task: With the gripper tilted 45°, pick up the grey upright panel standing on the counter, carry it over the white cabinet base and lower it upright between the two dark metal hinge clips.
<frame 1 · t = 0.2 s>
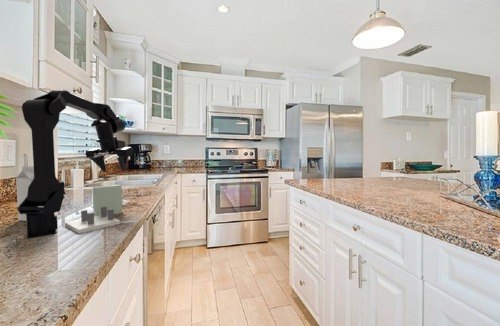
hand: (114, 171, 105), 15 cm above the counter, tool pointing down, fingers open, 9 cm apart
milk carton: (36, 219, 88), on the counter
cabinet base: (93, 224, 81), on the counter
grey upright panel: (108, 214, 94), on the counter
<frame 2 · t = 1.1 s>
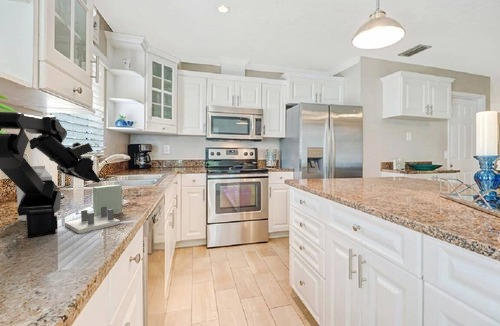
hand: (94, 181, 90), 13 cm above the counter, tool tilted 45°, fingers open, 9 cm apart
nothing on the counter moved.
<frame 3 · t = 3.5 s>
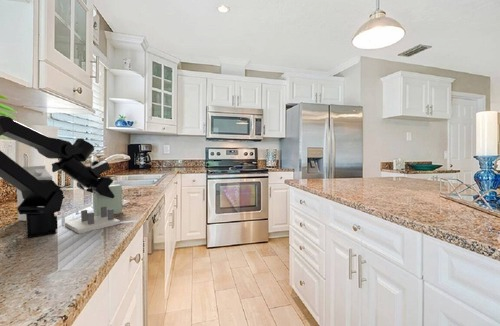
hand: (111, 196, 95), 7 cm above the counter, tool tilted 45°, fingers closed on grey upright panel, 3 cm apart
grey upright panel: (108, 214, 94), on the counter, touching gripper
everything else where it was.
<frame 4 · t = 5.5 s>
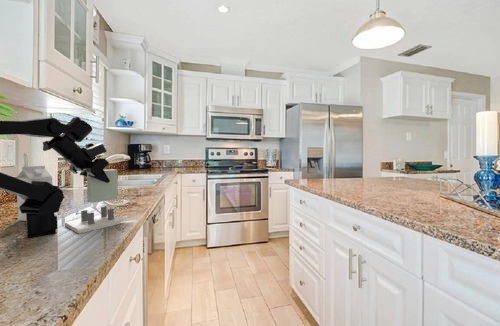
hand: (106, 181, 90), 13 cm above the counter, tool tilted 45°, fingers closed on grey upright panel, 3 cm apart
grey upright panel: (102, 200, 89), point 6 cm above the counter, touching gripper
everything else where it was.
when the fingers open (9 cm above the counter, at t = 7.3 s): grey upright panel stays where it is, resting on cabinet base.
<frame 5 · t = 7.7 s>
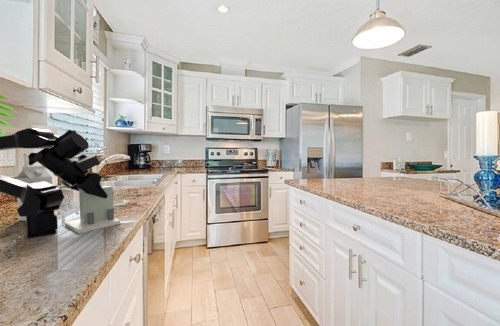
hand: (101, 195, 83), 9 cm above the counter, tool tilted 45°, fingers open, 8 cm apart
grey upright panel: (97, 220, 82), point 1 cm above the counter, touching cabinet base
everything else where it was.
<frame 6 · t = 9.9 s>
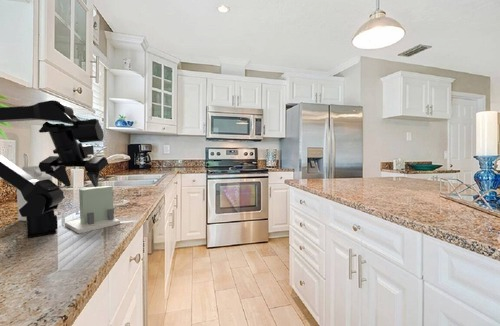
hand: (82, 186, 82), 13 cm above the counter, tool tilted 25°, fingers open, 9 cm apart
nothing on the counter moved.
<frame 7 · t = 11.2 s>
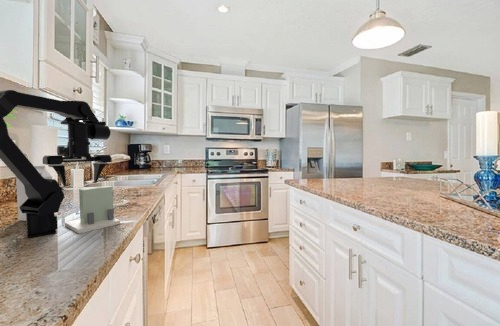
hand: (80, 184, 84), 13 cm above the counter, tool pointing down, fingers open, 9 cm apart
nothing on the counter moved.
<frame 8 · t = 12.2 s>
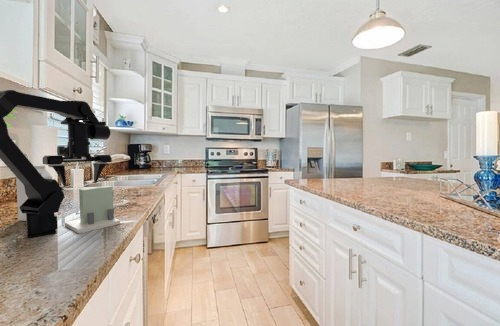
hand: (80, 184, 84), 13 cm above the counter, tool pointing down, fingers open, 9 cm apart
nothing on the counter moved.
at the end: grey upright panel 0.1 cm from the target spot on the cabinet base, point 1.2 cm above the cabinet base's base; grey upright panel tilted 0°; the gripper is holding nothing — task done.
